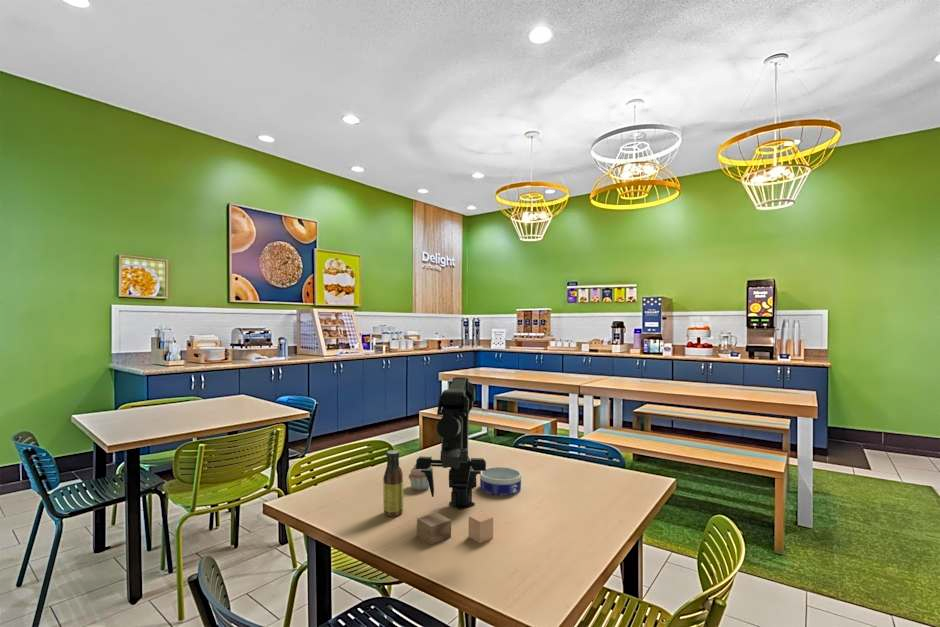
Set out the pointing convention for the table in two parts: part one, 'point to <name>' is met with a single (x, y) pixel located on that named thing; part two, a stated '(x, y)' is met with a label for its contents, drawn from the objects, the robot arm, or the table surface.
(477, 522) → the light wooden cube
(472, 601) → the table surface
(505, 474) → the dog bowl
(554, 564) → the table surface
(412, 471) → the cupcake
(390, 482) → the sauce bottle
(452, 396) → the robot arm
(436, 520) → the walnut block
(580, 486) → the table surface
